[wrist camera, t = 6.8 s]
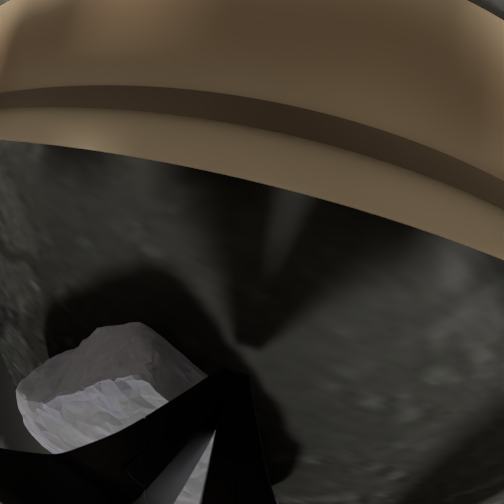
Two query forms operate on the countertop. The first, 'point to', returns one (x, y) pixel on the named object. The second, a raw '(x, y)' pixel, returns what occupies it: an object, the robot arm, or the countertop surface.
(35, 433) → the stone block
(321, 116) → the wooden grooved rail
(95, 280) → the countertop surface
